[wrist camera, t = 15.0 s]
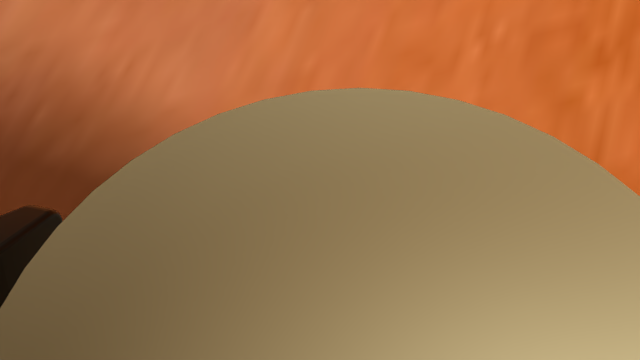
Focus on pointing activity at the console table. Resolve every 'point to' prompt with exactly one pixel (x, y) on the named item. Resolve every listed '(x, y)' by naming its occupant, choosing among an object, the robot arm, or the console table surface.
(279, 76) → the console table surface
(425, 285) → the birch post
